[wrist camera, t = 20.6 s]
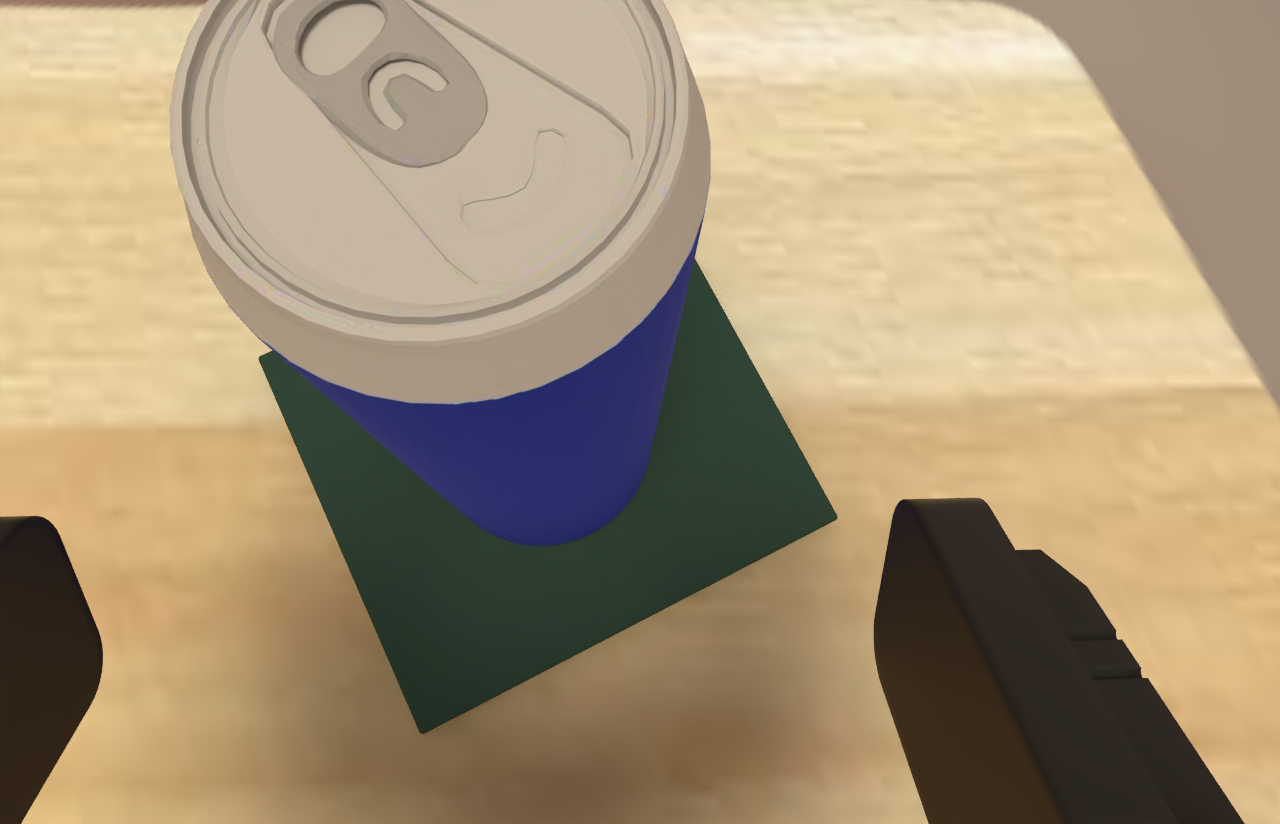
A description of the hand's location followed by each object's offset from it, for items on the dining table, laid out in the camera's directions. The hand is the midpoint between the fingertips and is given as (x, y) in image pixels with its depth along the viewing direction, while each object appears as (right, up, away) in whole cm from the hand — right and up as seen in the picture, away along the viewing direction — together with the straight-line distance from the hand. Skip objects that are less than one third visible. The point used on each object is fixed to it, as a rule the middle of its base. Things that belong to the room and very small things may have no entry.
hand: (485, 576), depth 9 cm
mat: (-1, +1, +14) cm, 14 cm away
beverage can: (-1, +1, +14) cm, 14 cm away
